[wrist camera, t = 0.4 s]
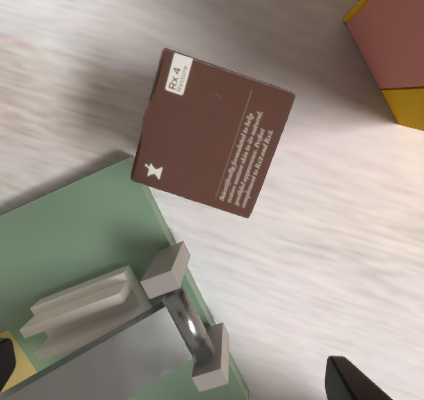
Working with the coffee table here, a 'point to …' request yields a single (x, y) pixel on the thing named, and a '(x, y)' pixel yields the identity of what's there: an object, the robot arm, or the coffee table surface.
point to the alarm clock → (393, 53)
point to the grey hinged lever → (125, 356)
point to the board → (99, 280)
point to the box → (209, 133)
